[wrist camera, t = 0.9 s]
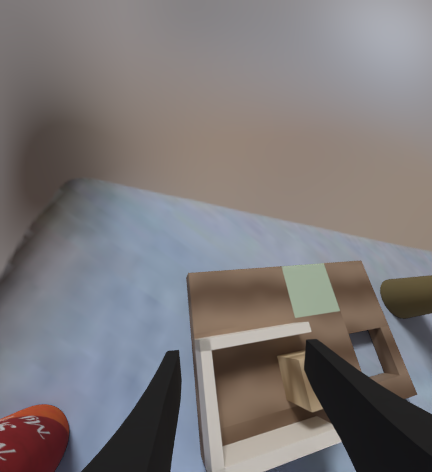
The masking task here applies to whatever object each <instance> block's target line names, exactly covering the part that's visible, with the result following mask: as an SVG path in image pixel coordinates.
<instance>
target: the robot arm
mask: <svg viewBox="0 0 432 472" xmlns="http://www.w3.org/2000/svg"><path fill="white" fill-rule="evenodd" d="M304 371H305V373H306V376H307V378H308V381H309V383H310V385H311V387H312V389H313V391H314V393H315V395H316V397H317V399H318V400H319V402H320V404H321V406H322V408H323V409H324V411H325V413H326V415H327V416H328V418H329V420H330V422H331V423H332V425H333V427H334V429H335V430H336V432H337V434H338V436H339V437H340V439H341V441H342V443H343V445H344V447H345V449H346V451H347V453H348V455H349V457H350V459H351V461H352V464H353V466H354V468H355V470H356V472H432V414H430V413H429V412H427V411H425V410H423V409H421V408H419V407H417V406H415V405H414V404H412V403H410V402H408V401H406V400H405V399H403V398H401V397H400V396H398V395H396V394H395V393H393V392H391V391H390V390H388V389H386V388H385V387H383V386H382V385H380V384H378V383H377V382H375V381H374V380H372V379H371V378H369V377H368V376H367V375H365V374H364V373H362V372H361V371H359V370H358V369H356V368H355V367H354V366H352V365H351V364H350V363H348V362H347V361H345V360H344V359H343V358H341V357H340V356H339V355H338V354H336V353H335V352H334V351H332V350H331V349H330V348H328V347H327V346H326V345H324V344H323V343H322V342H320V341H319V340H318V339H307V340H306V347H305V360H304ZM181 382H182V380H181V368H180V357H179V350H175V351H167V352H166V354H165V356H164V358H163V360H162V362H161V364H160V366H159V368H158V370H157V372H156V373H155V375H154V377H153V379H152V380H151V382H150V384H149V386H148V387H147V389H146V390H145V392H144V393H143V395H142V397H141V398H140V400H139V401H138V403H137V404H136V406H135V407H134V409H133V410H132V411H131V413H130V414H129V416H128V417H127V418H126V420H125V421H124V422H123V424H122V425H121V426H120V428H119V429H118V430H117V431H116V433H115V434H114V435H113V436H112V437H111V439H110V440H109V441H108V442H107V444H106V445H105V446H104V447H103V448H102V449H101V451H100V452H99V453H98V454H97V455H96V456H95V457H94V458H93V459H92V461H91V462H90V463H89V464H88V465H87V466H86V467H85V468H84V469H83V470H82V471H81V472H170V469H171V461H172V454H173V447H174V441H175V434H176V428H177V421H178V414H179V408H180V399H181Z"/></svg>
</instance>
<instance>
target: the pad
mask: <svg viewBox="0 0 432 472" xmlns="http://www.w3.org/2000/svg"><path fill="white" fill-rule="evenodd" d="M282 270H283V274H284V278H285V281H286V285H287V289H288V293H289V297H290V300H291V304H292V308H293V312H294V316H295V318H298V317H305V316H311V315H318V314H324V313H330V312H337V311H340V309H339V306H338V303H337V300H336V297H335V294H334V292H333V289H332V286H331V283H330V280H329V277H328V274H327V271H326V268H325V266H324V263H322V264H309V265H295V266H282Z"/></svg>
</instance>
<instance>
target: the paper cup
mask: <svg viewBox="0 0 432 472" xmlns="http://www.w3.org/2000/svg"><path fill="white" fill-rule="evenodd" d="M68 438H69V425H68V421H67V418H66V416H65V415H64V413H63V412H62V411H61V410H60V409H59V408H57V407H55V406H52V405H46V404H42V405H35V406H31V407H29V408H26V409H23V410H21V411H18V412H16V413H14V414H11V415H9V416H7V417H4V418H2V419H0V472H54V471H55V470H56V468H57V466H58V465H59V463H60V461H61V459H62V457H63V455H64V452H65V450H66V447H67V443H68Z"/></svg>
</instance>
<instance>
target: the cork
mask: <svg viewBox="0 0 432 472" xmlns="http://www.w3.org/2000/svg"><path fill="white" fill-rule="evenodd" d="M380 293H381V297H382V300H383V302H384V304H385V306H386V307H387V308H388V310H389V311H390V312H391V313H392V314H393V315H395V316H397V317H399V318H403V319H406V318H411V317H416V316H421V315H425V314H430V313H432V275H431V276H420V277H410V278H399V279H389V280H385V281H384V282H383V283H382V285H381V287H380Z"/></svg>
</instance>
